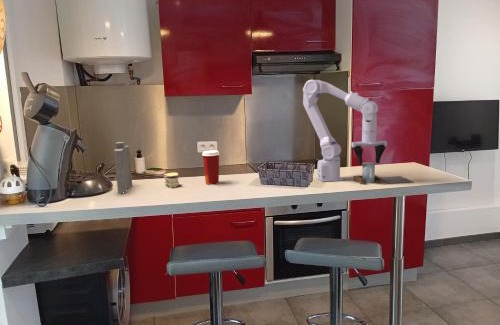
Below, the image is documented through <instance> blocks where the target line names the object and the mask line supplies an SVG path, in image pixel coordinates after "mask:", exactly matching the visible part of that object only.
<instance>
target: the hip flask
mask: <svg viewBox="0 0 500 325" xmlns="http://www.w3.org/2000/svg"><path fill="white" fill-rule="evenodd" d="M114 144H115V147H116V148H114V150H113V151H114V162H115V164H114V165H115V174H116V187H117V194H118V193H123V192H126V193H127V191H126V190H128V189H130V188H131V187H133V178H132V165H131V157H130V156H131V154H130V146H129V145H125V141H117V142H115V143H114Z"/></svg>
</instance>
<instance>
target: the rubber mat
mask: <svg viewBox="0 0 500 325" xmlns="http://www.w3.org/2000/svg"><path fill="white" fill-rule="evenodd" d="M379 177H380V178H382V183H385V184H387V185H394V184H397V185H398V184H410V183H412V184H413V183H414V181H413V180H410V179H409V178H407V177H404V176H401V175H398V176H397V175H395V176H379Z"/></svg>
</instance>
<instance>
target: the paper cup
mask: <svg viewBox="0 0 500 325" xmlns="http://www.w3.org/2000/svg"><path fill="white" fill-rule="evenodd" d="M201 155H202V160H203V162H202V163H203V168H204V169H203V170H204V179H205V185H208V184H214V185H217V183H218V184H219V179H220V152H219V150H204V151H202V153H201Z"/></svg>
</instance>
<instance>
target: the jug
mask: <svg viewBox="0 0 500 325" xmlns="http://www.w3.org/2000/svg"><path fill="white" fill-rule="evenodd" d="M361 165H362V166H361V167H362V168H361V171H362V173H361V174H362V179H364V184H375V183H376V181H375V175H376V170H375V169H376V162H371V161H369V162H368V161H367V162H362V164H361Z"/></svg>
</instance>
